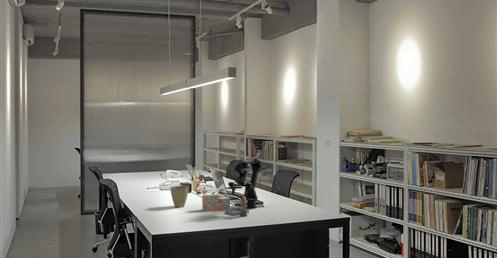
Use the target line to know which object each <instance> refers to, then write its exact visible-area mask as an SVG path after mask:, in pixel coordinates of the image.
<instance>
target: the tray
mask: <svg viewBox="0 0 497 258" xmlns="http://www.w3.org/2000/svg"><path fill="white" fill-rule="evenodd" d="M240 213H241V207H234V208H230V209H228V210H224V214H226V215H231V216H236V217H237V216H240ZM246 213H247V214H250V209H249V208H246Z"/></svg>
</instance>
